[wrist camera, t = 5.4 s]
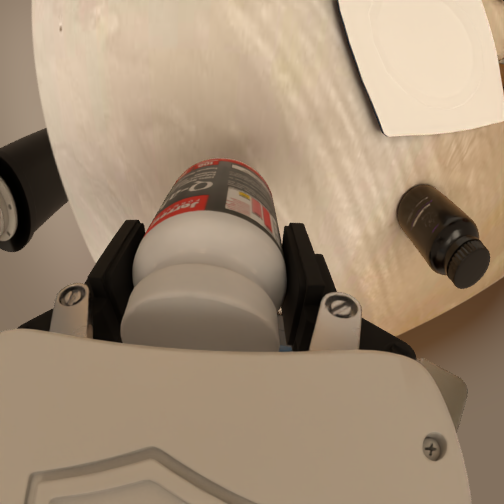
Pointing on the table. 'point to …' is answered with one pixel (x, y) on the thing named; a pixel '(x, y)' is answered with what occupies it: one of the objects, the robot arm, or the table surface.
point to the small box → (501, 69)
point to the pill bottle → (210, 265)
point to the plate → (425, 64)
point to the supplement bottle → (443, 235)
